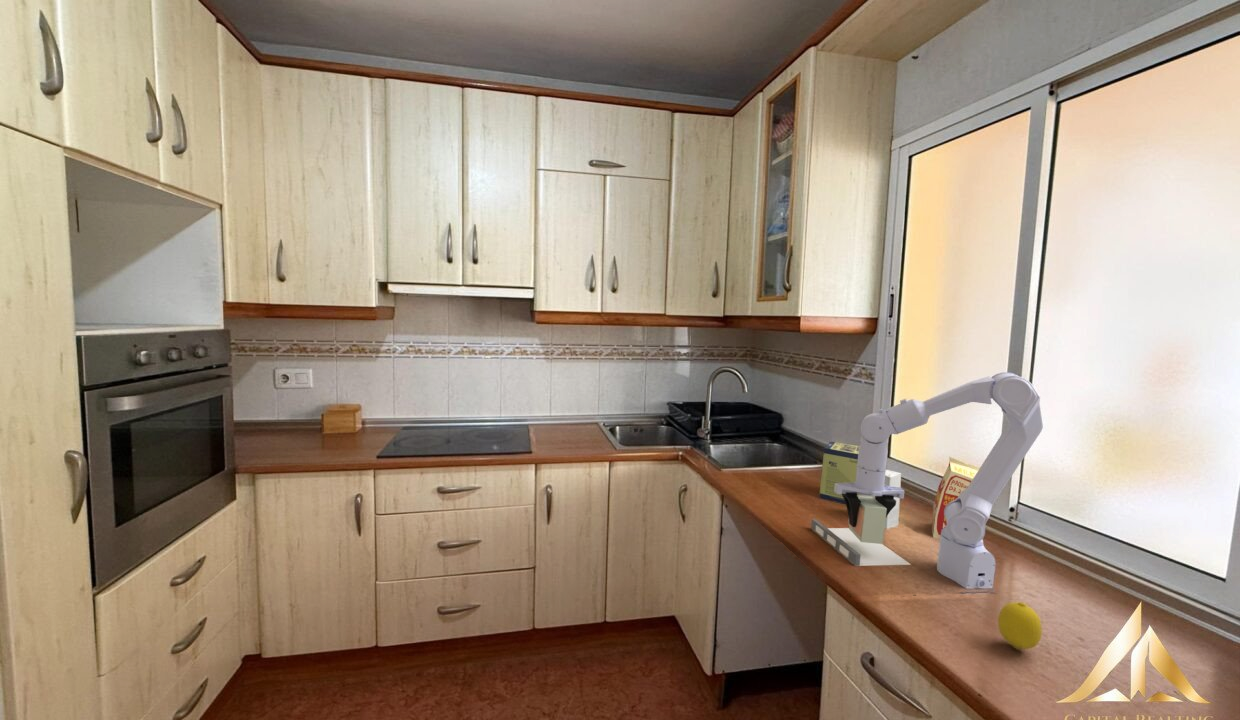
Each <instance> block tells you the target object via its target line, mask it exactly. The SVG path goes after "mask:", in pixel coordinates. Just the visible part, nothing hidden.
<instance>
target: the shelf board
mask: <svg viewBox="0 0 1240 720" xmlns="http://www.w3.org/2000/svg"><path fill="white" fill-rule="evenodd" d="M810 525H811V526H810V529H811V530H812V531H813V532H814V533H815V534H817V536H819V537H820V538H821V539H822V540H824V541H825V542H826V543H827V544H829V546H831V547H832V548H833V549H834V550H836V551H837V552H838V553H839V554H840V555H842V556H843V557H844V558H845V559H847V561H849V562H850V563H851V564H852V565H854V566H855V567H861V566H862V567H863V566H869V567H870V566H910V565H912V564H911V563H909V562H908V561H907V560H906V559H904V558H903V557H901V556H900V555H898V554H897V553H895V551H893V550H891V549H890V548H888V547H887V546H885V545H884V543H883V544H877V543H864V542H861V541H860V540H859V539H858V538H857V537H856V536H855V535H854V534H853V533H852V532H851V531H850V530H849V527H839V528H838V527H832V528H831V527H830V528H829V527H827V526H825V525H824V524H822V523H821V522H820V521H819V520H817V519H816V518H812V519H811V524H810Z"/></svg>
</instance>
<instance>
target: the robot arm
mask: <svg viewBox="0 0 1240 720" xmlns="http://www.w3.org/2000/svg"><path fill="white" fill-rule="evenodd" d="M992 400H993V401H994V402H995V403H996V405H998V407H1000V409H1001V412H1002V414H1003V416H1004V417H1005V420H1006V422H1007V425H1006V427H1005V429H1004V430H1003V431H1002V433H1001V434H1000V436H999V437H998V439H997V441H996V443H995V444H994V446H993V447H992V448H991V450H990V451H989V453H988V455H987V456H986V458H985V460H984V461H983V462H982V464H981V466H979V467H980V469H979V470H978V472H977V473H976V475H975V477H974V478H973V480H972V481H971V483H970V484H969V486H968V488H967V489H966V490H964V491H963V492H962V493H961V494H960V495H959V497H958V498H957V499H956V500H954V501H952V502H950V503H949V504H947V506H946V507H945V509H944V516H945V518H946V521H947V526H946V527H945V528H944V529H942V530H941V537H940V539H939V547H938V554H937V555H938V557H937V563H936V564H937V565H936V570H937V571H938V572H939V574H940V575H942V576H943V577H946V578H948V579H950V580H952V581H954V582H956V583H957V584H958V585H959V586H961V587H963V588H964V589H966V590H972V589H976V590H977V589H979V591H960V592H959V593H960V594H981V593H982V594H984V593H985V594H986V593H996V592H997V591H996V590H985V591H983V590H981V591H980V589H993V588H994V579H995V574H996V573H995V572H996V563H997V562H996V559H995V556H994V555H993V554H992V553H991V552H990V551H988V550H987V549H986V547H985V546H984V540H983V539H984V537H985V535H986V524H987V522H988V520H989V519H990V516H991V512H992V508H993V505H994V503H995V502H996V500H997V499H998V498H999V496H1000V494H1001V493H1002V492H1003V490H1004V488H1005V486H1006V485H1007V484H1008V483H1009V481H1010V479H1011V478H1012V476H1013V475H1014V474H1015V472H1016V470H1017V469H1018V467H1019V466H1020V464H1021V463H1022V461H1023V459H1024V458H1025V457H1026V455H1027V454H1028V452H1029V451H1030V449H1031V447H1032V446H1033V445H1034V443H1035V442H1036V441H1037V438H1038V437H1039V436H1040V434H1041V432H1042V430H1043V429H1044V428H1043V426H1044V425H1043V418H1042V411H1041V404H1040V403H1041V402H1040V401H1041V396H1040V394H1039V393H1038V391H1037V390H1036V388H1035V387H1034V384H1032V383H1031V381H1030V380H1028V379H1026V378H1025V377H1022V376H1019V375H1017V374H1016V373H1013V372H1008V371H1007V372H1006V371H1005V372H1004V371H1003V372H998V373H996V374H993V375H992V376H991V377H990V376H986V377H981V378H979V379H974V380H972V381H969V382H966V383H964V384H962V385H960V386H957V387H955V388H952V389H950V390H947V391H945V392H942V393H940V394H938V395H936V396H932V397H931V398H929V399H925V400H923V401H921V400H918V399H916V398H915V399H914V398H912V399H909V400H908V399H907V398H903V399H902V400H900V401H899V404H896V405H893V406H890V407H888V408H886V409H883V408H880V409H878V410H877V413H876V412H875V413H873V412H872V413H870V414H868V415H866V416H865V417H864V418H863V419H862V422H861V424H860V433H861V436H860V439H859V442H860V444H859V445H858V446H859V452H858V462H857V473H856V482H853V483H835V486H834V491H835V492H836V493H837V494H842V496H843V498H844V501H845V504H844V505H845V508H846V510H847V514H848V518H849V524H850V525H851V526H852V527H856V524H857V515H858V510H859V506H860V503H861V501H860V500H859V499H858V496H857V495H871V496H875V500H877V501H878V502H879V503H880V504H882V505H883V506H884V507H885V508H886V509H887V511H886V517H887V515H888V514H889V512H890V511H891V510H892V509H893V508H894V507H895V506H896V500H894V497H898V498H900V500H901V499H902V500H903V499H904V498H905V490H904V488H902V487H901V486H900V487H891V486H885V485H884V482H885V472H886V470H887V463H888V462H887V461H888V454H889V453H888V451H889V450H888V447H887V445H888V439H889V438H890V436H891V435H899V434H901V433H905V432H907V431H911V430H912V429H915V428H918V427H921V426H924V425H926V424H927V423H928V421H929V418H930V416H933V415H936V414H939V413H943V412H945V411H948V410H952V409H955V408H957V407H961V406H964V405H967V404H970V403H979V404H986V405H992V404H993V403H992Z"/></svg>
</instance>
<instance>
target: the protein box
mask: <svg viewBox="0 0 1240 720" xmlns="http://www.w3.org/2000/svg"><path fill="white" fill-rule="evenodd" d="M858 452H859V445H854V444H849V443H848V444H847V443H843V442H835V441H829V443H828V444H826V446H825V447H824V448H823V456H822V457H823V458H822V469H821V477H820V485H819V493H818V498H819V499H821V500H826V499H827V501H830V500H831V502H834V501H835V502H836V503H840V504H843V503H844V504H843V505H846V504H845V501H844V498H843V496H842V494H837V493H836V492H835V491H834V486H835V483H853V482H856V473H857V462H858ZM857 496H859V495H857Z"/></svg>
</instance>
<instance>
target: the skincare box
mask: <svg viewBox="0 0 1240 720" xmlns="http://www.w3.org/2000/svg"><path fill="white" fill-rule="evenodd" d="M901 483H902V473H901V472H898V471H894V470H890V469H886V472H885V482H884V485H885V486H891V487H900V488H901ZM859 496H867V497H873V498H874V499H875V496H871V495H859ZM894 500H896V506H895V507H894V508H893V509H892V510H891V511H890V512H889V514H888V515H887V517H886V520H885V529H884V530H889V529H892V528H895V527H897V526H899V519H900V517H899V516H900V504H901V503H900V502H901V501H900V500H901V499H900V498H898V497H894Z"/></svg>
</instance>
